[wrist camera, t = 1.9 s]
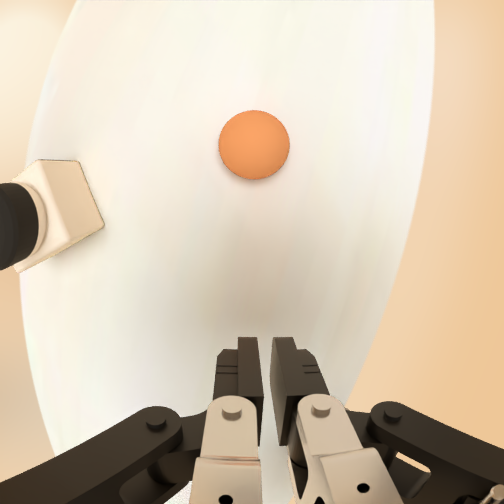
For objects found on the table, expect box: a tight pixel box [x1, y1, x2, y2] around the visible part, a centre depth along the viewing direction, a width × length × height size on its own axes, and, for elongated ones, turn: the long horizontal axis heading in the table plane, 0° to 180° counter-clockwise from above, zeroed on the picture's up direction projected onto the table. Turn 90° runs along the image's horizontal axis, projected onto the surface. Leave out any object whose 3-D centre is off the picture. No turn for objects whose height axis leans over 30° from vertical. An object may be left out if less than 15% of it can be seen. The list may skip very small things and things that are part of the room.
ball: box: [219, 110, 290, 179], centre depth 23 cm, size 6×6×6 cm
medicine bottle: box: [0, 159, 104, 273], centre depth 20 cm, size 7×7×12 cm
